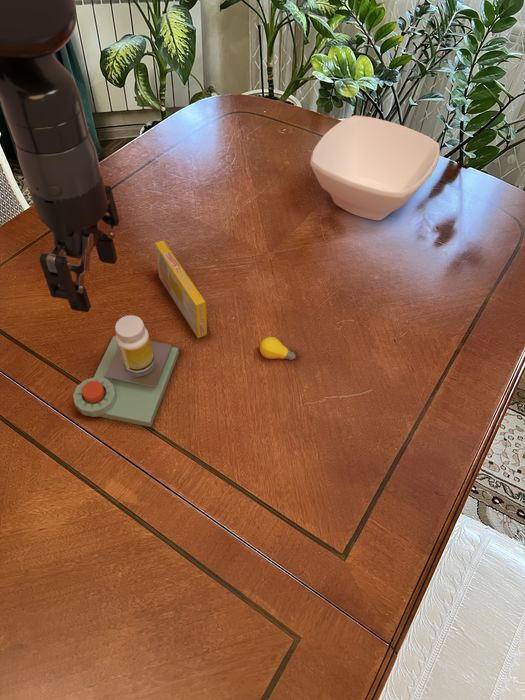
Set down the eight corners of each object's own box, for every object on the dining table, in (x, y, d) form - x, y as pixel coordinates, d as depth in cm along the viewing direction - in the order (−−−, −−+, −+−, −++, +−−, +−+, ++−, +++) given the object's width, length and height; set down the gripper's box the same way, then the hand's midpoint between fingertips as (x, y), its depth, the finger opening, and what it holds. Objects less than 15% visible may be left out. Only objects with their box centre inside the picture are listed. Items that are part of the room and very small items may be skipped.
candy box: (209, 334, 95) (206, 301, 88) (197, 339, 94) (193, 306, 87) (169, 273, 103) (163, 238, 96) (158, 277, 102) (151, 242, 96)
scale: (148, 432, 83) (145, 422, 81) (72, 417, 85) (66, 406, 82) (179, 352, 92) (177, 341, 90) (109, 339, 94) (105, 328, 91)
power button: (100, 405, 83) (98, 399, 82) (80, 401, 83) (78, 395, 82) (108, 388, 85) (105, 382, 84) (89, 384, 85) (86, 378, 84)
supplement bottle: (161, 357, 88) (153, 322, 81) (140, 378, 85) (130, 344, 78) (137, 343, 89) (128, 307, 82) (116, 363, 87) (105, 328, 80)
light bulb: (258, 345, 93) (265, 329, 91) (291, 359, 94) (300, 343, 92) (254, 358, 91) (262, 341, 88) (289, 371, 91) (298, 355, 89)
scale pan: (156, 387, 85) (155, 386, 84) (104, 377, 86) (104, 376, 85) (172, 345, 89) (172, 344, 89) (124, 336, 90) (123, 335, 90)
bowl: (394, 254, 107) (408, 204, 97) (291, 212, 114) (295, 162, 104) (438, 191, 118) (453, 141, 109) (342, 156, 125) (349, 106, 116)
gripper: (59, 131, 64) (90, 242, 76) (-5, 211, 55) (42, 321, 68) (123, 141, 63) (144, 252, 76) (68, 223, 54) (102, 332, 67)
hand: (96, 284), depth 72 cm, fingers open, 8 cm apart
